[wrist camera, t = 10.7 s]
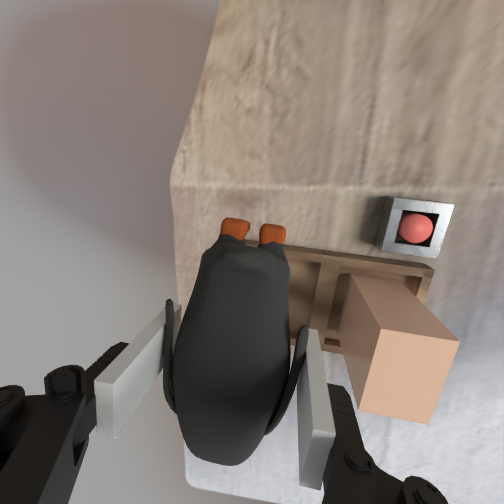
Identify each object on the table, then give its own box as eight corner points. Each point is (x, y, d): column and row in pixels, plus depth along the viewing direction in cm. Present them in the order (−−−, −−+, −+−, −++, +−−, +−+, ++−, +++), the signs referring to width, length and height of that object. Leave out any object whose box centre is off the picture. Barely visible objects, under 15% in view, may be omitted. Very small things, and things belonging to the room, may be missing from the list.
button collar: (386, 196, 37) (394, 198, 34) (440, 201, 36) (454, 204, 33) (374, 244, 39) (381, 251, 36) (425, 251, 38) (436, 258, 35)
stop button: (397, 210, 37) (406, 213, 34) (425, 213, 36) (436, 216, 33) (390, 235, 38) (398, 240, 35) (417, 239, 37) (427, 244, 34)
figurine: (209, 215, 19) (182, 410, 21) (131, 200, 9) (89, 579, 11) (314, 231, 18) (278, 432, 20) (352, 234, 8) (273, 635, 10)
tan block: (349, 272, 40) (381, 328, 25) (399, 280, 39) (460, 341, 25) (336, 331, 43) (358, 410, 28) (382, 339, 42) (428, 424, 28)
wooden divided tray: (241, 239, 42) (237, 243, 39) (425, 264, 39) (434, 270, 36) (233, 325, 46) (229, 334, 44) (397, 353, 43) (403, 364, 41)
